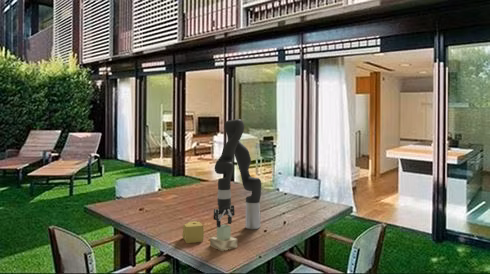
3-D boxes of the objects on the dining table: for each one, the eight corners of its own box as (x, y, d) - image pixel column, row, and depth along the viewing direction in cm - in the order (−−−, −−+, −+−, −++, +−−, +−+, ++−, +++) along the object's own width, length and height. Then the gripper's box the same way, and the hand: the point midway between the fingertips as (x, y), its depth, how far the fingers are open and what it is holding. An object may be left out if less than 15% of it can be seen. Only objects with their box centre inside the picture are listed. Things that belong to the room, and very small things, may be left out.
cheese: (182, 238, 232) (182, 222, 232) (199, 236, 236) (199, 220, 235) (185, 244, 223) (185, 226, 222) (204, 241, 226) (204, 225, 226)
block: (224, 236, 222) (224, 224, 222) (230, 238, 219) (230, 226, 218) (216, 238, 219) (216, 226, 218) (223, 240, 215) (223, 228, 214)
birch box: (226, 242, 227) (226, 234, 226) (237, 247, 218) (237, 239, 218) (210, 246, 220) (210, 237, 219) (221, 252, 211) (221, 243, 211)
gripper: (228, 194, 225) (228, 221, 226) (210, 198, 214) (210, 226, 215) (237, 196, 220) (237, 224, 221) (219, 200, 209) (219, 229, 210)
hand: (224, 225), depth 218 cm, fingers open, 8 cm apart
